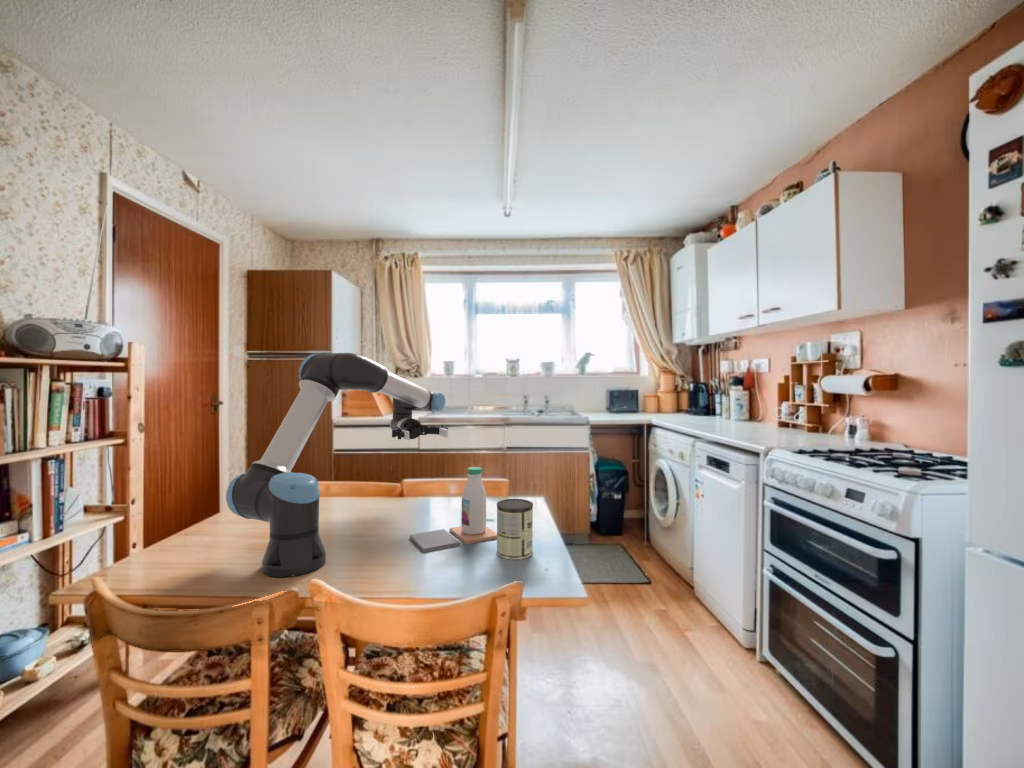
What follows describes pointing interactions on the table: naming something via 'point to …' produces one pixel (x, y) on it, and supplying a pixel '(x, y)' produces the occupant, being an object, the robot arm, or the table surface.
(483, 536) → the terracotta tile
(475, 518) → the milk bottle
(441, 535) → the slate tile
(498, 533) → the coffee can
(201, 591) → the table surface
